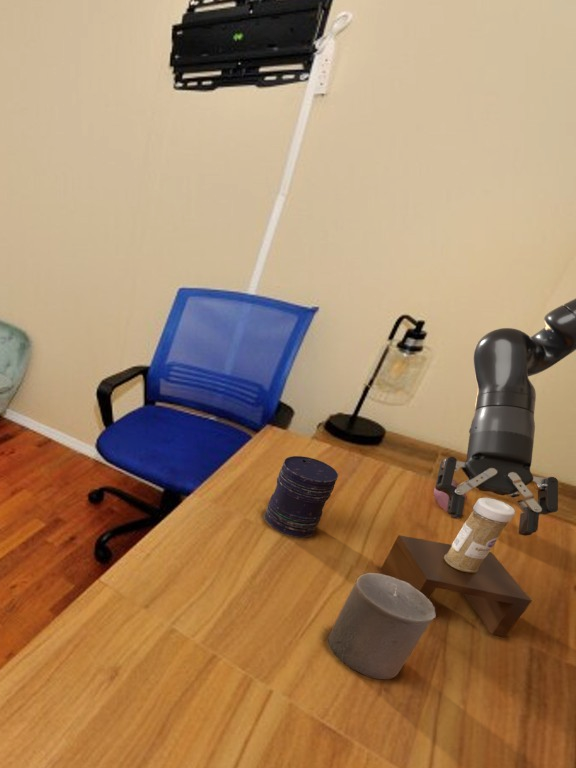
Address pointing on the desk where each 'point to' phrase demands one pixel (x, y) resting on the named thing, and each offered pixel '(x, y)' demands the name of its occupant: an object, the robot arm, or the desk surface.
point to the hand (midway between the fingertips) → (490, 526)
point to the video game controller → (445, 497)
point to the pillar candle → (380, 625)
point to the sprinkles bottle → (479, 534)
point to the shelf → (459, 581)
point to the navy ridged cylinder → (300, 496)
